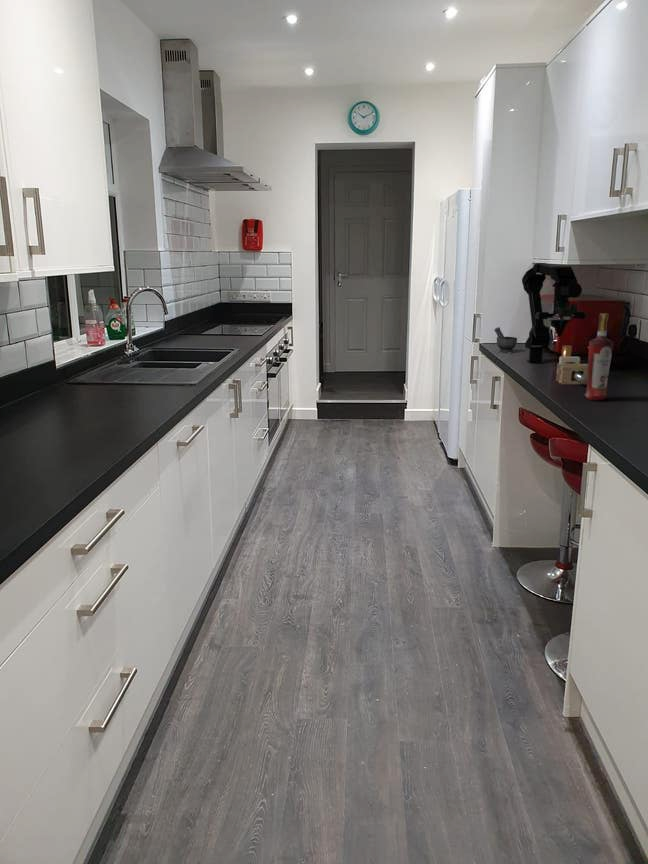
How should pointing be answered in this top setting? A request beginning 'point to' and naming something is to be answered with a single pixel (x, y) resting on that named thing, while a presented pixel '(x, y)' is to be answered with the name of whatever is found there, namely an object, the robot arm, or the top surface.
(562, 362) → the spacer
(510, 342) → the mortar and pestle
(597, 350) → the liquor
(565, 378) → the bearing block
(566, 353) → the shaft
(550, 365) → the top surface
